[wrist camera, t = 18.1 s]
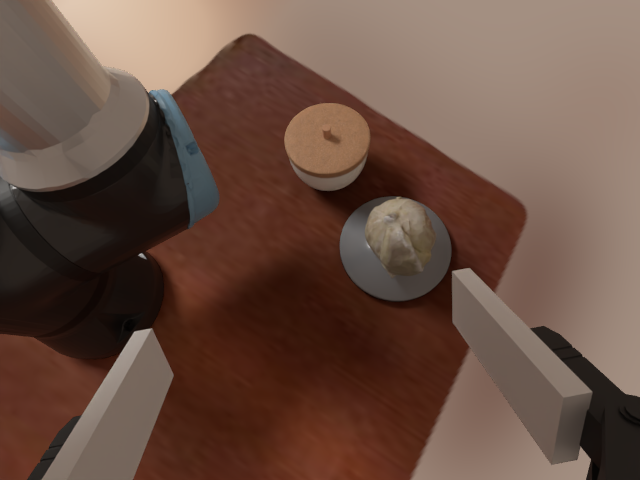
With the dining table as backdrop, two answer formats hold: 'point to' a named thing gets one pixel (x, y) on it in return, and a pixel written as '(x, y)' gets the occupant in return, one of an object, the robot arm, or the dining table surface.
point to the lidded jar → (327, 145)
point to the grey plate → (372, 273)
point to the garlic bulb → (400, 236)
